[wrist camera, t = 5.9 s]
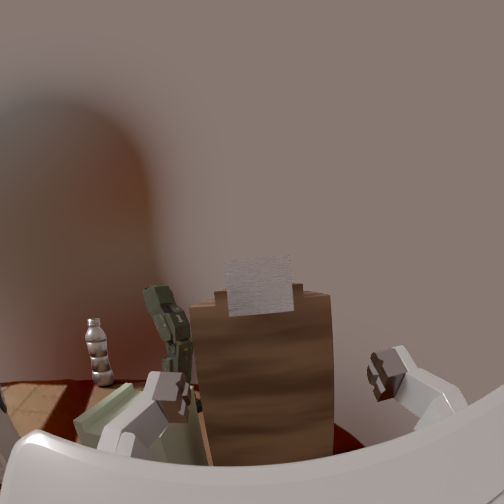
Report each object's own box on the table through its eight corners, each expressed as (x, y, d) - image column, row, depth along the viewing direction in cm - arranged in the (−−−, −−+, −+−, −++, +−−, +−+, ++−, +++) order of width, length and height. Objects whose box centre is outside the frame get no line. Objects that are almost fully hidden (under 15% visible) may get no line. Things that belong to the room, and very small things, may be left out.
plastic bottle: (116, 387, 62) (105, 319, 64) (94, 389, 58) (82, 320, 60) (114, 380, 67) (104, 317, 70) (94, 382, 64) (83, 318, 66)
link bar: (294, 310, 14) (289, 255, 15) (229, 316, 14) (224, 261, 15) (273, 294, 33) (271, 269, 33) (244, 296, 33) (242, 272, 33)
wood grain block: (328, 504, 19) (328, 280, 22) (225, 513, 20) (187, 293, 22) (314, 461, 29) (307, 281, 32) (232, 469, 29) (208, 289, 32)
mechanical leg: (220, 406, 51) (183, 276, 58) (196, 418, 45) (156, 277, 53) (183, 404, 59) (152, 292, 66) (161, 413, 53) (128, 294, 60)
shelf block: (198, 539, 14) (160, 437, 16) (123, 524, 15) (73, 420, 16) (212, 480, 26) (193, 386, 28) (152, 474, 27) (125, 382, 28)
